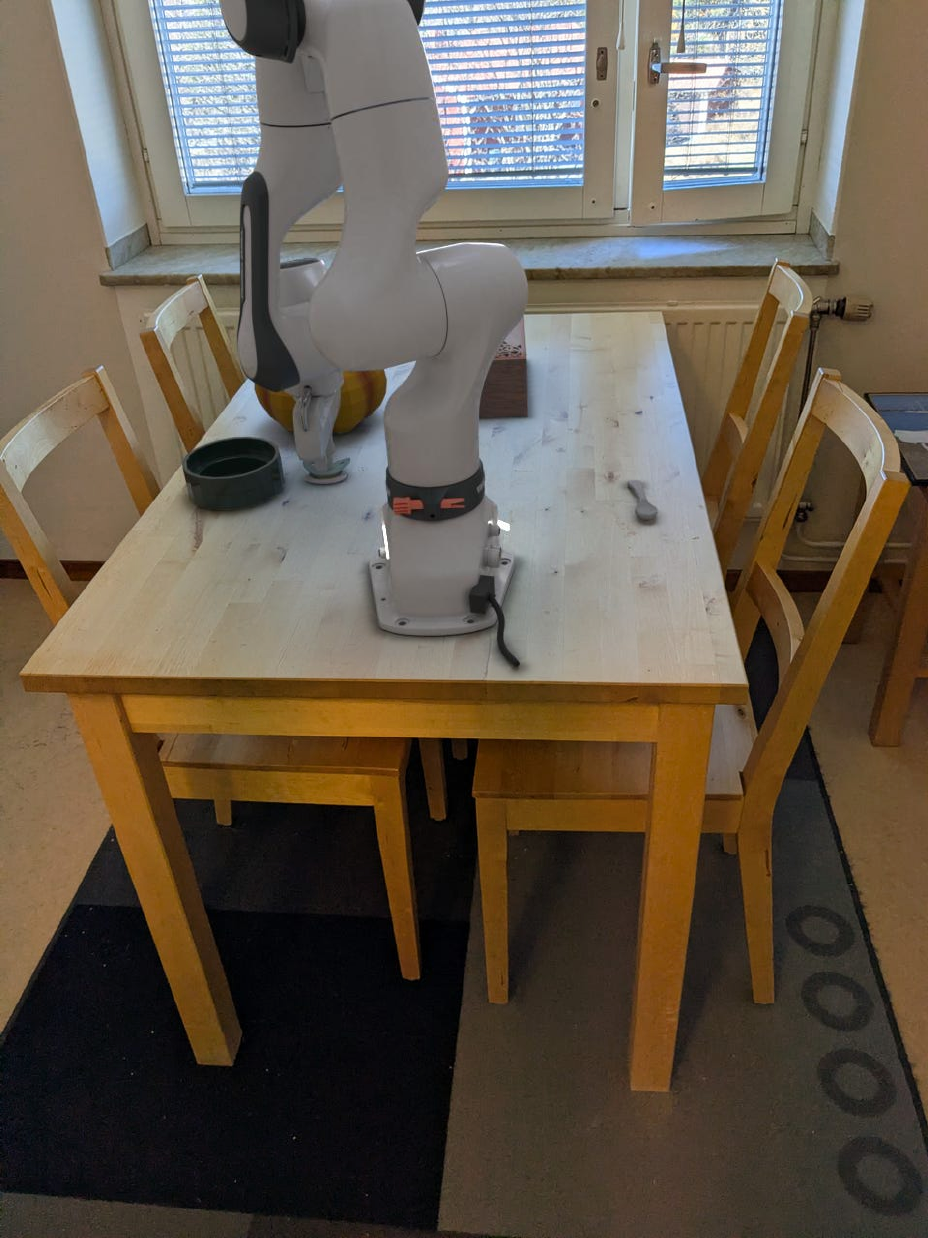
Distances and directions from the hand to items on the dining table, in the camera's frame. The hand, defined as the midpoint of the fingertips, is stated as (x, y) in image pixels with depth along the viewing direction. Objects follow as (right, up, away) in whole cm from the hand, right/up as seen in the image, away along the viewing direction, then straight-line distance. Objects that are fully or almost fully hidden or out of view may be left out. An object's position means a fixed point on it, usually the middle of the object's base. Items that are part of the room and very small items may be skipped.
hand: (325, 461), depth 149 cm
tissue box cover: (+25, +17, +26) cm, 40 cm away
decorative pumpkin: (-2, +9, +18) cm, 20 cm away
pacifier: (0, -2, +1) cm, 3 cm away
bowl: (-13, -4, -1) cm, 14 cm away
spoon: (+46, -8, -12) cm, 48 cm away
